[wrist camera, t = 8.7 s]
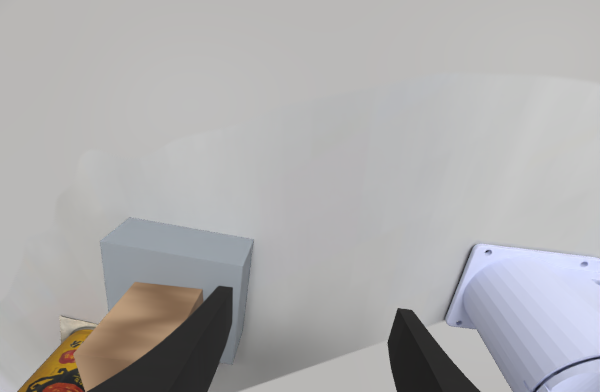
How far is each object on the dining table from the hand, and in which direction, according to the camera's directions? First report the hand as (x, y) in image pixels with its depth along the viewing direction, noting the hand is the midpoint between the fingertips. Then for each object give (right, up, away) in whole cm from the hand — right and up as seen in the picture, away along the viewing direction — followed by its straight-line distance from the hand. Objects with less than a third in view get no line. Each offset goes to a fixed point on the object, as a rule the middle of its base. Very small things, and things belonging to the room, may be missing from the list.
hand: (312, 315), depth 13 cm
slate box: (-10, -2, +13) cm, 17 cm away
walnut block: (-10, -4, +10) cm, 15 cm away
